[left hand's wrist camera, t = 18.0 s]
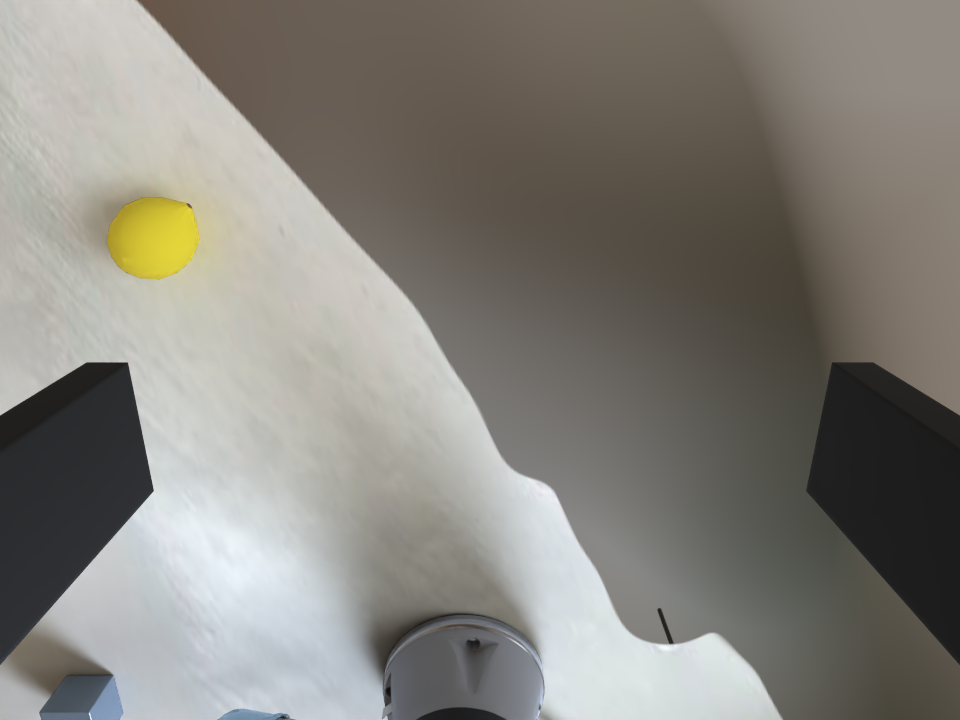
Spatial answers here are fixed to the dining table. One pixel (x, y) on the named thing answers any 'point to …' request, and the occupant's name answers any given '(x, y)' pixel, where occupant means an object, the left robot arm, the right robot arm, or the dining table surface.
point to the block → (84, 699)
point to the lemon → (153, 237)
